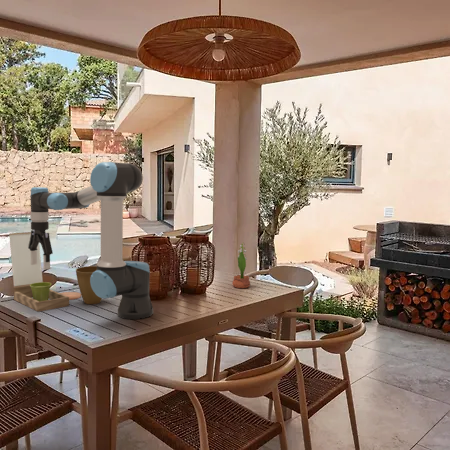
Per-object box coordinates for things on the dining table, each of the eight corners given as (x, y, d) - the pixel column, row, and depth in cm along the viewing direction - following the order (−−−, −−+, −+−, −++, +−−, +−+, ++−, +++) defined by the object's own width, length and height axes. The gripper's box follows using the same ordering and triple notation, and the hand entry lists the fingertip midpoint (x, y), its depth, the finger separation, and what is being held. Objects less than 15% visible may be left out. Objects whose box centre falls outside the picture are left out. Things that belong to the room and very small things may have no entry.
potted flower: (230, 284, 258) (231, 240, 255) (248, 284, 259) (249, 241, 256) (233, 289, 246) (234, 243, 243) (251, 289, 247) (252, 243, 244)
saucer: (86, 297, 222) (86, 295, 222) (60, 301, 212) (60, 300, 212) (73, 292, 231) (73, 290, 231) (48, 296, 221) (48, 294, 221)
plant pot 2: (69, 303, 210) (68, 269, 208) (92, 296, 223) (92, 264, 221) (93, 308, 203) (92, 273, 201) (115, 301, 216) (115, 268, 214)
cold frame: (69, 305, 206) (69, 292, 206) (38, 311, 196) (37, 298, 195) (43, 294, 224) (43, 282, 224) (13, 299, 214) (13, 287, 214)
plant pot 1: (55, 300, 214) (55, 282, 214) (45, 305, 205) (45, 287, 204) (36, 299, 215) (36, 281, 214) (26, 304, 206) (25, 286, 205)
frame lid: (38, 231, 224) (37, 231, 225) (9, 233, 214) (8, 233, 215) (42, 282, 224) (41, 282, 224) (14, 286, 214) (13, 286, 214)
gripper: (60, 223, 201) (60, 270, 203) (36, 218, 218) (36, 261, 220) (43, 223, 195) (44, 272, 197) (20, 219, 212) (21, 263, 215)
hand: (40, 266), depth 209 cm, fingers open, 13 cm apart
